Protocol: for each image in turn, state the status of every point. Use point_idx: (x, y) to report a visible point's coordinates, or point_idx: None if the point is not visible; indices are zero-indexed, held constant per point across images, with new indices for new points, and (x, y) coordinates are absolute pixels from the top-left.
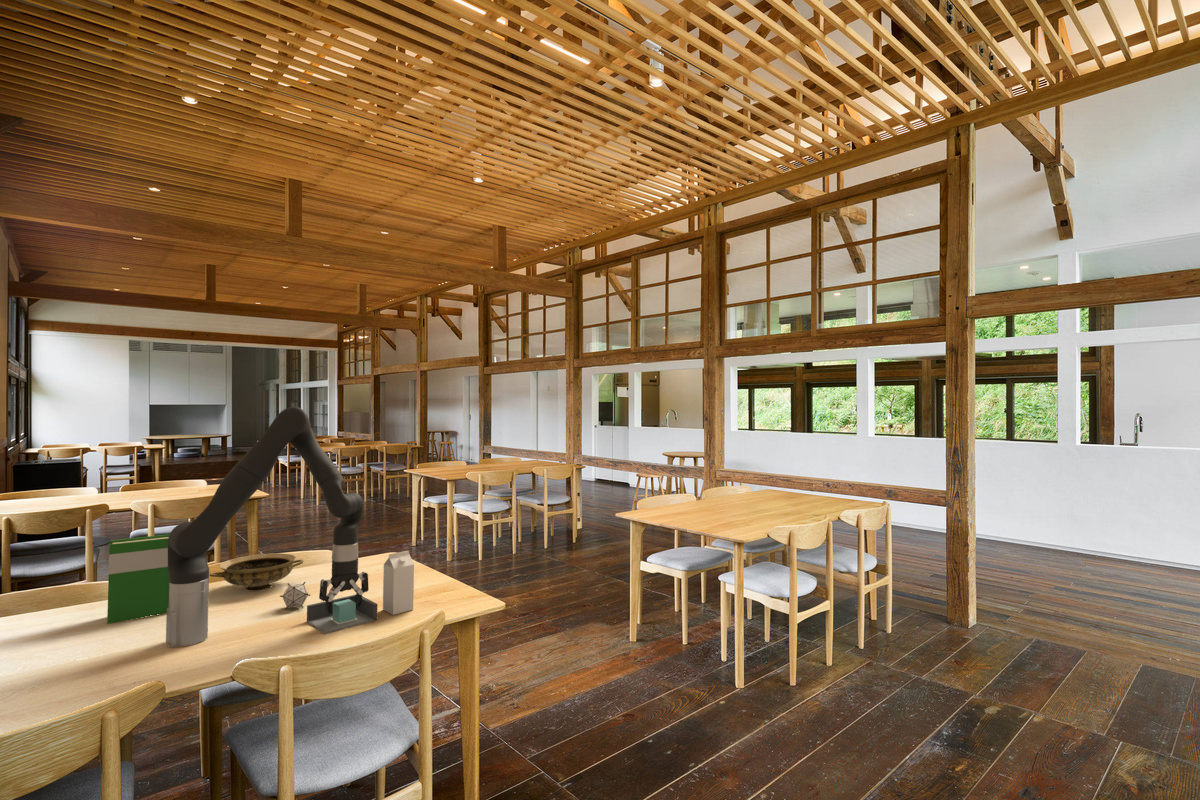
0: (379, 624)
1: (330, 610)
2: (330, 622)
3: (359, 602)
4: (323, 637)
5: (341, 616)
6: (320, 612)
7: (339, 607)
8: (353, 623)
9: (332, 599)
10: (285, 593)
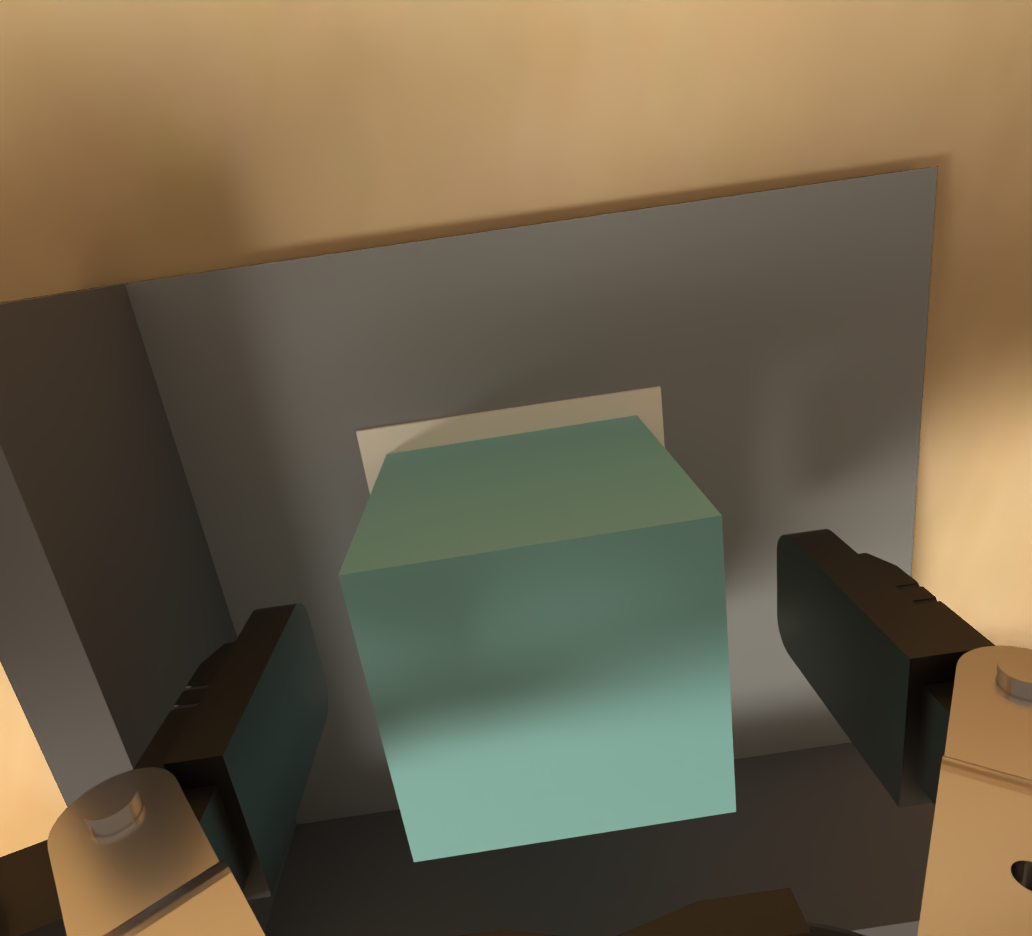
0: (62, 46)
1: (847, 550)
2: None
3: (246, 648)
4: (985, 22)
5: (623, 450)
6: (781, 810)
7: (716, 511)
8: (458, 279)
9: (964, 684)
10: None
